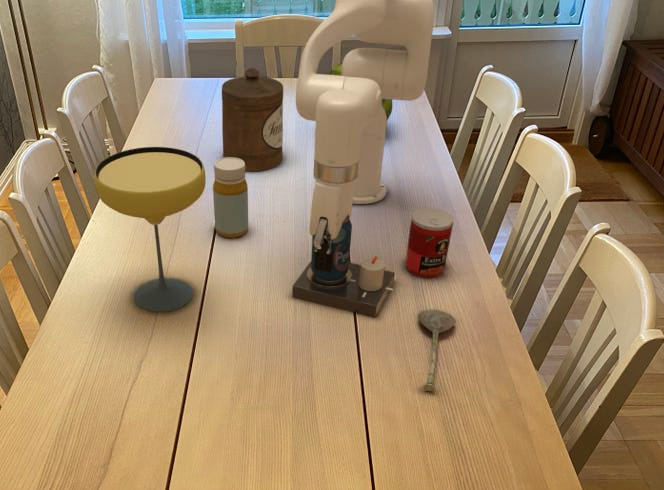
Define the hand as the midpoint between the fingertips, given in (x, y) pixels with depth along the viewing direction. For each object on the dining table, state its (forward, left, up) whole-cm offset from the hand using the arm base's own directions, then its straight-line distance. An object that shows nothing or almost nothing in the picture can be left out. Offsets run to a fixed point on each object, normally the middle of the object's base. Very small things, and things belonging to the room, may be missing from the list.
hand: (330, 259), depth 132 cm
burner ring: (0, 0, -3) cm, 3 cm away
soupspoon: (+11, +23, -6) cm, 26 cm away
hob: (0, +3, -6) cm, 7 cm away
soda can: (0, 0, -3) cm, 3 cm away
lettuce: (-72, -19, -6) cm, 75 cm away
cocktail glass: (+15, -27, -6) cm, 32 cm away
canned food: (-14, +15, -6) cm, 21 cm away
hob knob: (0, +8, -3) cm, 9 cm away
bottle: (-12, -26, -6) cm, 29 cm away
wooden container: (-47, -37, -6) cm, 60 cm away
